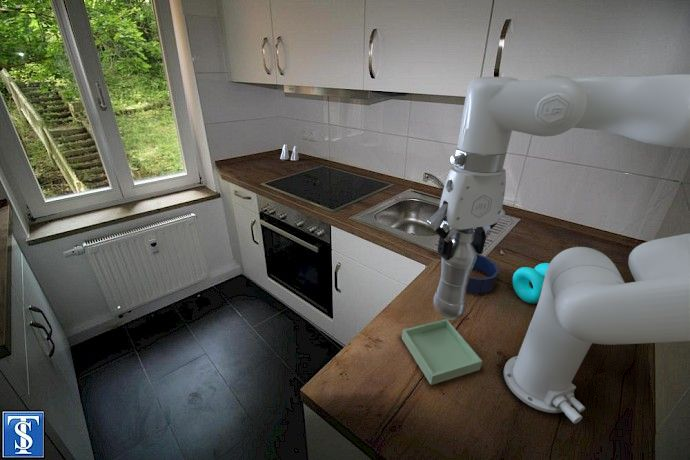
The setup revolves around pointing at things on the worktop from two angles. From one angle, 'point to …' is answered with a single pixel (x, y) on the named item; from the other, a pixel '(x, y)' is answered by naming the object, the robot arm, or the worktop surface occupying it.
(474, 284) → the blue ring
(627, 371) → the worktop surface
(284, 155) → the shaker set
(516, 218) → the worktop surface
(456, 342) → the tray
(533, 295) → the donuts
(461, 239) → the plastic bottle
